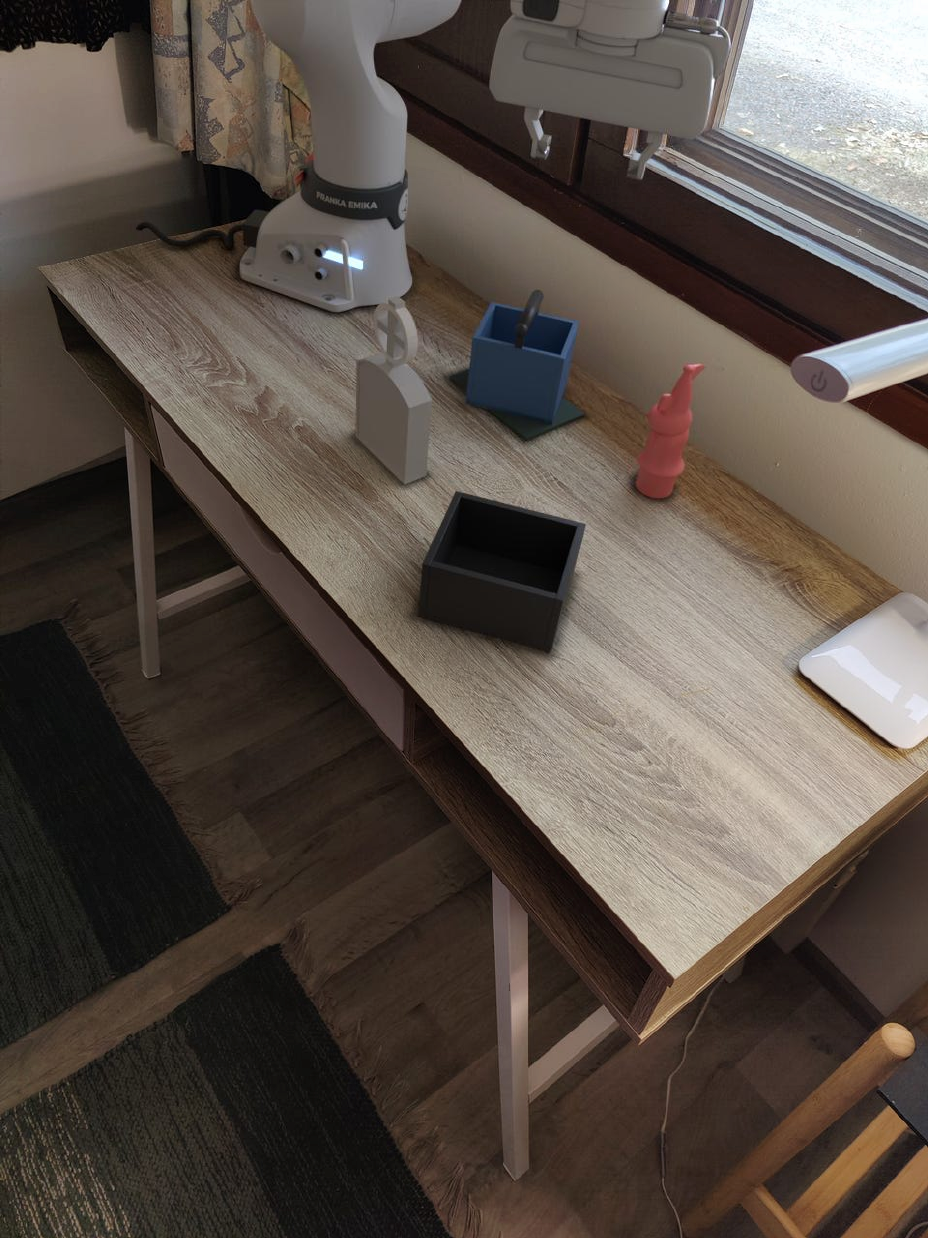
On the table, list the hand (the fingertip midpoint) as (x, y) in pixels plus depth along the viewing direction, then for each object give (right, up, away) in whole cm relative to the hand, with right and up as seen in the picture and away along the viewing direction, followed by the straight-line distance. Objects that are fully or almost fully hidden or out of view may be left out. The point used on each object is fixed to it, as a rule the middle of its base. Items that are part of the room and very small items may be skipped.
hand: (586, 166), depth 92 cm
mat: (-6, -18, +19) cm, 27 cm away
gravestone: (-20, -26, +10) cm, 34 cm away
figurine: (+8, -29, +11) cm, 32 cm away
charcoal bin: (-9, -41, -3) cm, 42 cm away
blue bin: (-6, -17, +19) cm, 26 cm away
